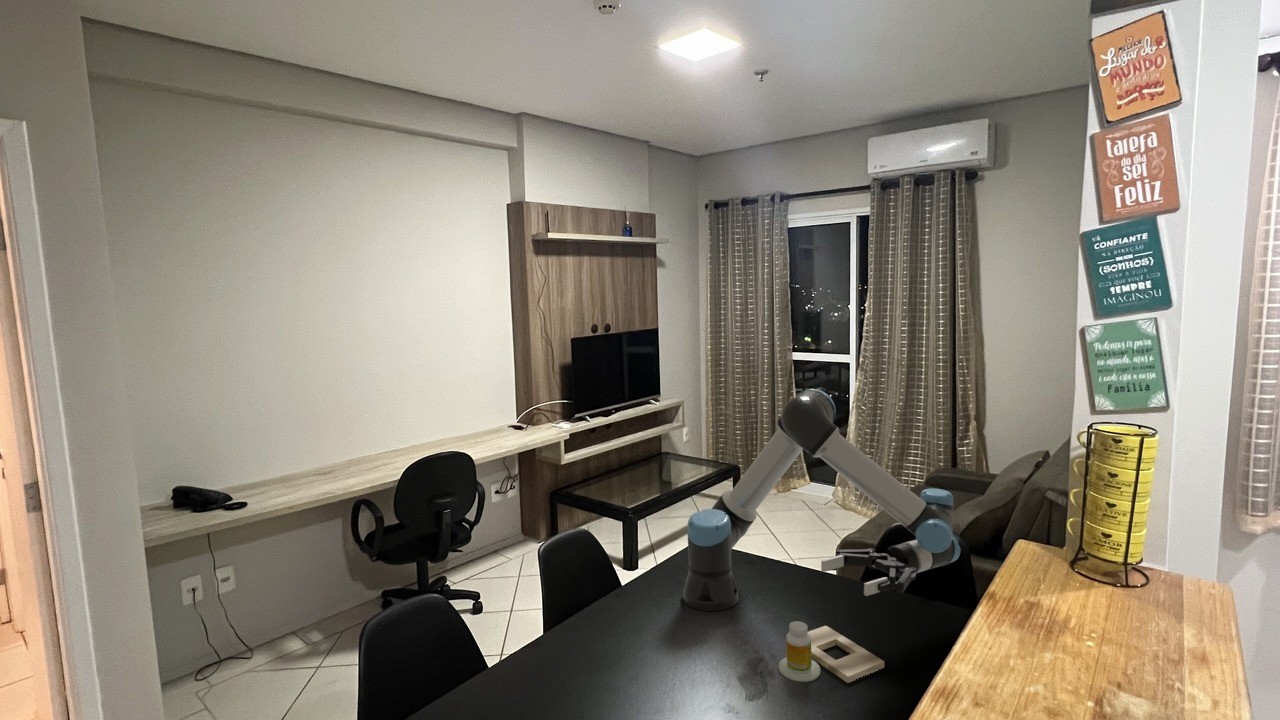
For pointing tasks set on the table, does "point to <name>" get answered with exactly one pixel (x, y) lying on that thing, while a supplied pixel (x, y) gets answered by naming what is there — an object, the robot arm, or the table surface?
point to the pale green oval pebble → (799, 677)
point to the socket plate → (847, 666)
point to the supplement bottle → (798, 648)
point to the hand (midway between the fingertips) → (842, 577)
